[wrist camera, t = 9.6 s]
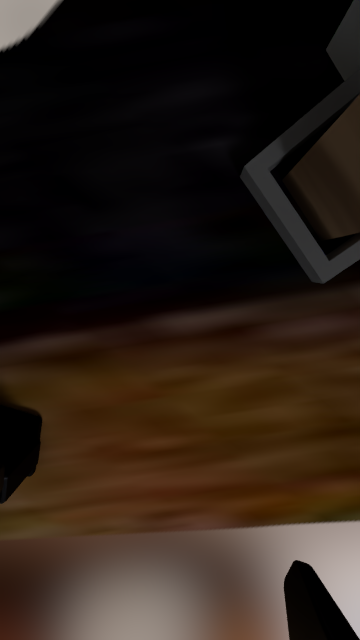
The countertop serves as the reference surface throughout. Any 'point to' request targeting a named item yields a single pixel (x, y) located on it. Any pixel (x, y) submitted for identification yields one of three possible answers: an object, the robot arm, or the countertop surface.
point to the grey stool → (356, 70)
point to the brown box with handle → (331, 178)
